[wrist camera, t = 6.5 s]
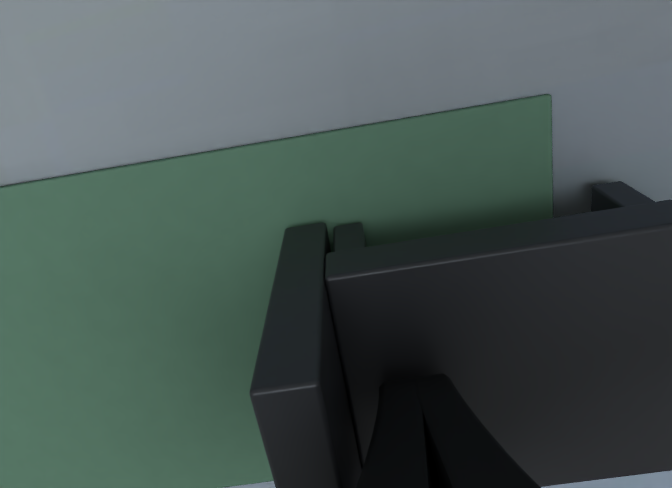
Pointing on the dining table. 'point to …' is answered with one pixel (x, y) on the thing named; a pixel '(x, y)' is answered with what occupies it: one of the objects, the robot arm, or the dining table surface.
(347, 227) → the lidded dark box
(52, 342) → the mat
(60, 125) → the dining table surface
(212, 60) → the dining table surface
